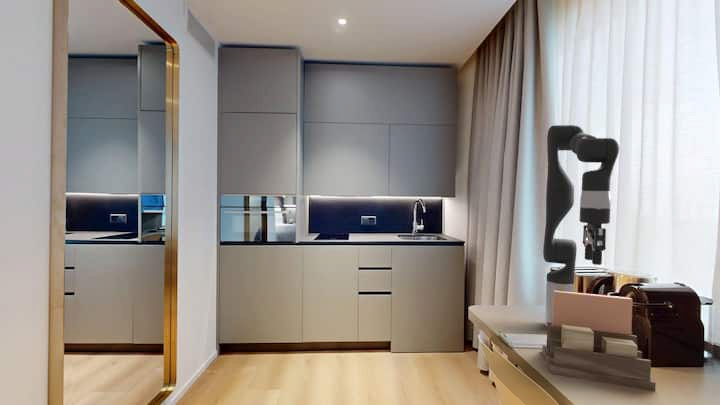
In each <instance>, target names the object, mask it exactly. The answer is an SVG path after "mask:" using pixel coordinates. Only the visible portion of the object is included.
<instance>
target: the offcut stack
mask: <svg viewBox="0 0 720 405" xmlns="http://www.w3.org/2000/svg"><path fill="white" fill-rule="evenodd" d="M593 345H594V332H593V331H592V330H591V329H590V328H585V327H577V326H568V325H562V339H561V348H568V349H575V350H582V351H590V352H593ZM637 351H638V344H637V345H636V344H635V343H634V342H633V341H631V340H623V339H615V338H607V337H602V353H604V354H611V355H618V356H625V357H633V358H637Z"/></svg>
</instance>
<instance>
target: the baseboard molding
mask: <svg viewBox="0 0 720 405" xmlns="http://www.w3.org/2000/svg"><path fill="white" fill-rule="evenodd" d="M498 337H499V338H500V339H501V340H502V341H503V342H504V343H505V344H506V346H507V345H508V347H509V348H510V349H512V350H513V349H530V350H532V349H537V350H542V345H545V346H547V334H534V333H533V334H532V333H530V334H529V333H501V332H498Z"/></svg>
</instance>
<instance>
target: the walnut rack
mask: <svg viewBox="0 0 720 405" xmlns="http://www.w3.org/2000/svg"><path fill="white" fill-rule="evenodd" d="M592 331H593V332H594V345H593V352H590V351H582V350H575V349H568V348H561V339H562V326H554V325H552V322H549V321H547V327H546V335H547V346H545V345H542V349H541V352H542V355H543V357H544V360H545V363H546V366H547V369H548V368H549V369H548V371H550V372H549V374H550V373H553V374H552V375H556V374H559V375H558V376H562V375H563V376H564V377H571V378H575V379H581V380H589V381H595V382H601V383H608V384H615V385H619V386H626V387H631V388H637V389H644V390H649V391H656V386H657V385H656V384H657V383H656V381H655V380H654V379H653V378H652V377H651V374H652V373H651V370H652V360H650V359H647V358H646V359H645V358H643V355H642V354H643V352H642V351H640V350H637V358H633V357H625V356H618V355H611V354H604V353H602V337H607V338H615V339H623V340H631V341H633V342H634V343H635V344H636V345H637V346H638V336H637V335H634V334H633V331H631V335H627V334H619V333H611V332H603V331H595V330H592Z"/></svg>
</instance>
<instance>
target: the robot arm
mask: <svg viewBox="0 0 720 405" xmlns="http://www.w3.org/2000/svg"><path fill="white" fill-rule="evenodd" d="M546 142H547V143H546V148H547V149H546V150H547V175H546V176H547V179H546V192H545V193H546V194H545V195H546V196H545V205H546V206H545V214H546V215H545V228H544V238H543V240H544V241H543V249H542V253H543V259H544V262H546V263H549V264H550V263H551V264H558V265H559V264H561V265H564V266H563V267H561V268H560V269H557V270H553V271H549V272H548V273H547V274H546V282H545V283H546V284H545V286H546V287H545V310H544V312H545V314H544V315H545V316H544V326H545V327H546V328H547V321H549V322H552V302H553V290H555V291H566V292H575V274H576V271H575V270H576V262H577V261H576V260H577V243H576V241H575V240H574V239H569V238H554V235H555V233H556V230H557V228H558V227H559V225H560V224H561V222H562V221H563V220H564V218H565V217H566V216H567V215H568V214H569V212H570V211H571V209H572V208H573V206H574V204H575V185H574V183H573V180H572V178H571V177H570V175H569V174H568V173H567V171H566V170H565V169H564V166H563V165H562V162H561V160H560V159H561V158H560V155H559V151H571V152H572V153H574V154H575V155H576V157H577V160H578V161H580V162H582V163H601V164H600V166H599V167H598V169H594V170H588V171H587V170H586V171H585V172H583V174H582V176H581V177H582V178H581V182H582V183H581V195H580V201H579V202H580V203H579V222H580V223H583V224H584V225H583V232H582V233H583V234H582V235H583V236H582V244H583V246H584V259H585V260H586V261H587V260H588V261H591V264H593V265H597V266H600V265H602V263H603V252H604V251H605V250H606V242H607V240H606V238H607V236H606V234H607V230H606V228H603V226H602V225H608V224H610V221H611V202H612V201H611V178H612V177H611V176H612V173H613V170H614V167H615V164H616V161H617V159H618V156H619V153H620V145H619V142H618V141H617V140H616V138H611V137H604V138H603V137H602V138H601V137H598V138H597V137H596V136H594V135H591V134H589V133H586V131H585V130H584V129H583V128H582V127H580V126H579V125H575V124H562V125H561V124H559V125H556V124H555V125H551V126H550V127H549V128H548V131H547V140H546Z"/></svg>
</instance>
